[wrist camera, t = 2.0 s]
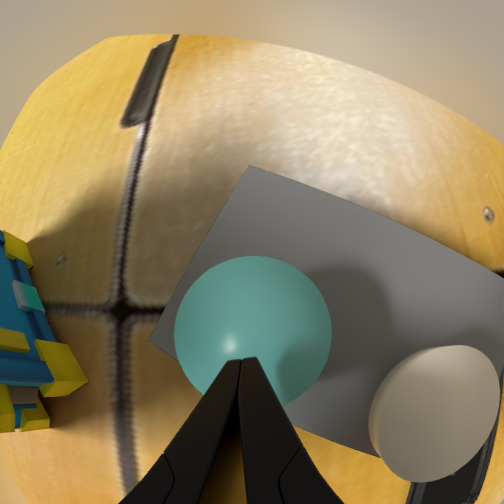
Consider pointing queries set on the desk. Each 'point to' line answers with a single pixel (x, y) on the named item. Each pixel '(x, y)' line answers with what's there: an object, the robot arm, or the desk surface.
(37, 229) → the desk surface
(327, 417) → the button box
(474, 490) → the phone
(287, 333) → the teal button
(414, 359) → the cream button
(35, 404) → the decorative book
